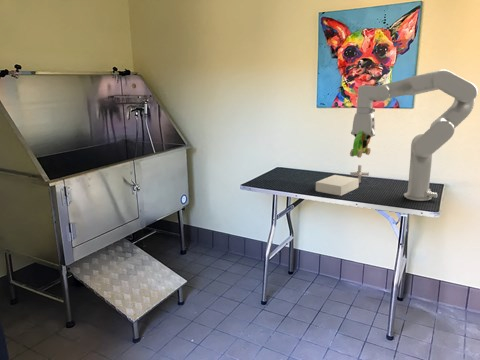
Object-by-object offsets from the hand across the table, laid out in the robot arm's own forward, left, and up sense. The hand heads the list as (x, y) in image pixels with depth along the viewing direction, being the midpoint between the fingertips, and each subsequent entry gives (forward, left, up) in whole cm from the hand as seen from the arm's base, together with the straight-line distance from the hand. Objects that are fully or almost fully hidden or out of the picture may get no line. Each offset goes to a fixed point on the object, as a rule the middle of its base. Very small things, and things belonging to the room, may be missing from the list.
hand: (361, 147), depth 202 cm
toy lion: (0, 0, -4) cm, 4 cm away
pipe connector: (+10, -20, -25) cm, 33 cm away
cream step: (+13, 0, -24) cm, 28 cm away
